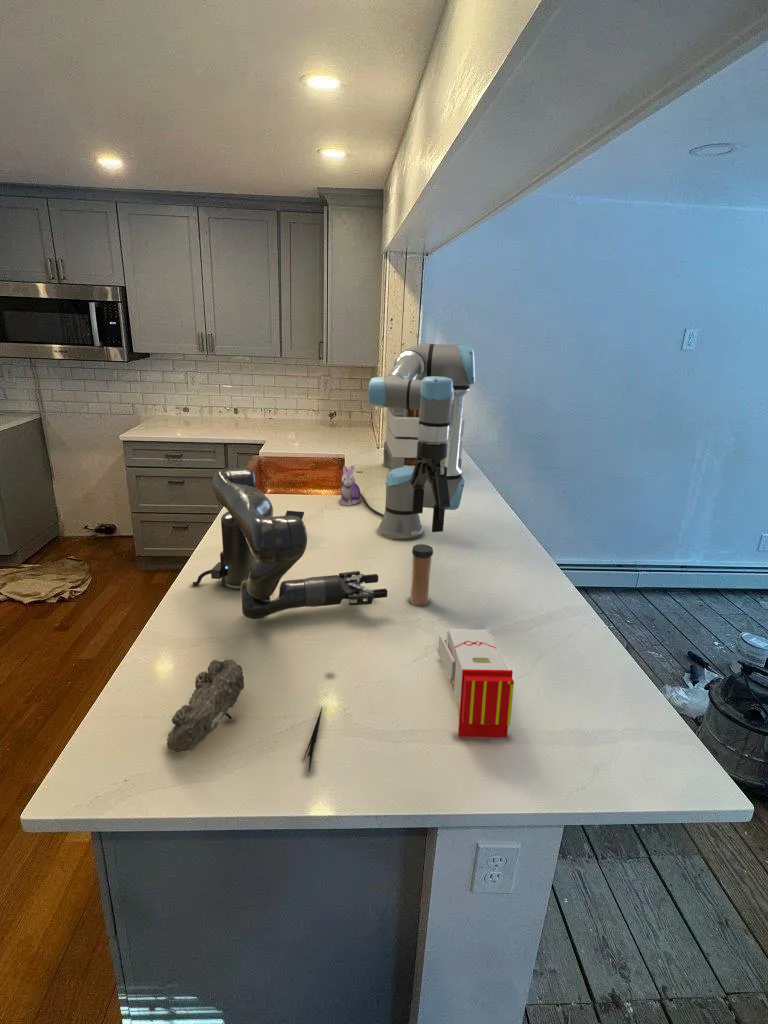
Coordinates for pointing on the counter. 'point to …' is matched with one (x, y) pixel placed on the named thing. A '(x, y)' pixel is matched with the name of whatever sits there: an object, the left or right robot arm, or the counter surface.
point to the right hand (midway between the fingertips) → (426, 522)
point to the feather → (313, 740)
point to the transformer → (405, 438)
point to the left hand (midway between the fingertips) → (382, 585)
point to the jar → (420, 580)
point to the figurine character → (295, 514)
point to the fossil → (206, 705)
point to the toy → (478, 682)
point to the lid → (422, 551)
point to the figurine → (349, 488)
